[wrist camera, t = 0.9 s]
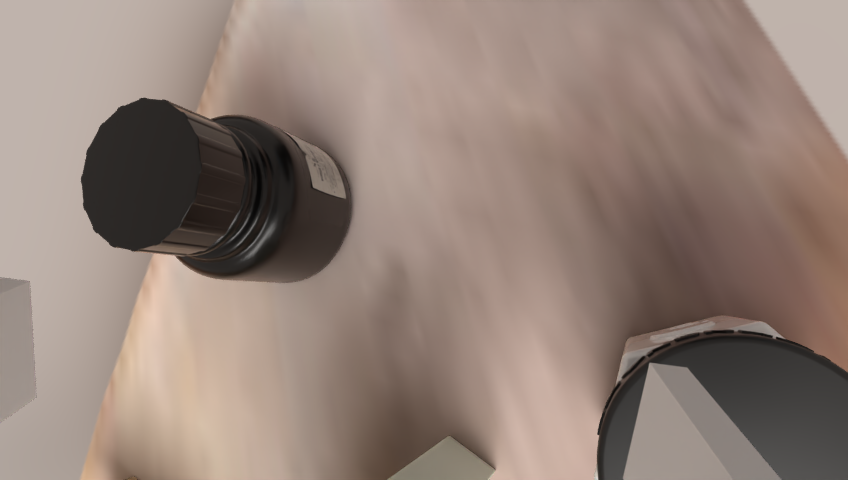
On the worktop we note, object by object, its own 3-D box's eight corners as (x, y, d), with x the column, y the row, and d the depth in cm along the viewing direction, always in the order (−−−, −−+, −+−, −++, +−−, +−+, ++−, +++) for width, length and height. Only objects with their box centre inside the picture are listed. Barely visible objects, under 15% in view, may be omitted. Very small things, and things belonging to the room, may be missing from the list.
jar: (772, 297, 27) (870, 295, 16) (840, 478, 25) (1004, 620, 14) (581, 344, 29) (548, 371, 18) (632, 510, 28) (630, 650, 17)
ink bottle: (378, 161, 35) (254, 94, 23) (338, 302, 34) (195, 303, 23) (250, 130, 38) (88, 59, 27) (213, 259, 38) (36, 242, 27)
